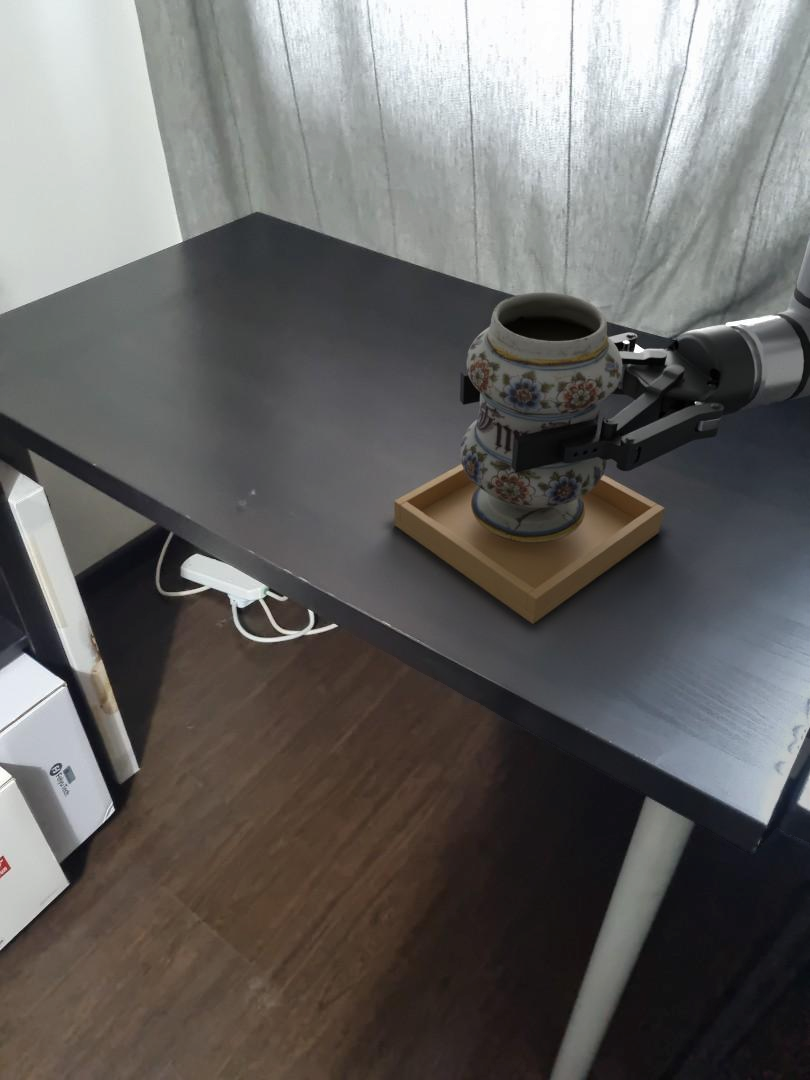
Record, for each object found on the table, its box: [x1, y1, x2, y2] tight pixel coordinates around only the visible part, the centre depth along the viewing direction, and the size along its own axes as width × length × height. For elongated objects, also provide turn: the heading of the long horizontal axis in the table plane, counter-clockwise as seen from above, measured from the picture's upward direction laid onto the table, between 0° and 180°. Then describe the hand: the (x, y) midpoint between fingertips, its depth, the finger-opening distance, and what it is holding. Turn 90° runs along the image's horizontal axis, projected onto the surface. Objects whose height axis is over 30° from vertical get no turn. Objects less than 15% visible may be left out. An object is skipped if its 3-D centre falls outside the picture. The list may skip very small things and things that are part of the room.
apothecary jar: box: [459, 291, 624, 543], centre depth 66 cm, size 12×12×18 cm
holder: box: [393, 463, 665, 625], centre depth 73 cm, size 17×17×3 cm
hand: (486, 419), depth 65 cm, fingers closed on apothecary jar, 9 cm apart
